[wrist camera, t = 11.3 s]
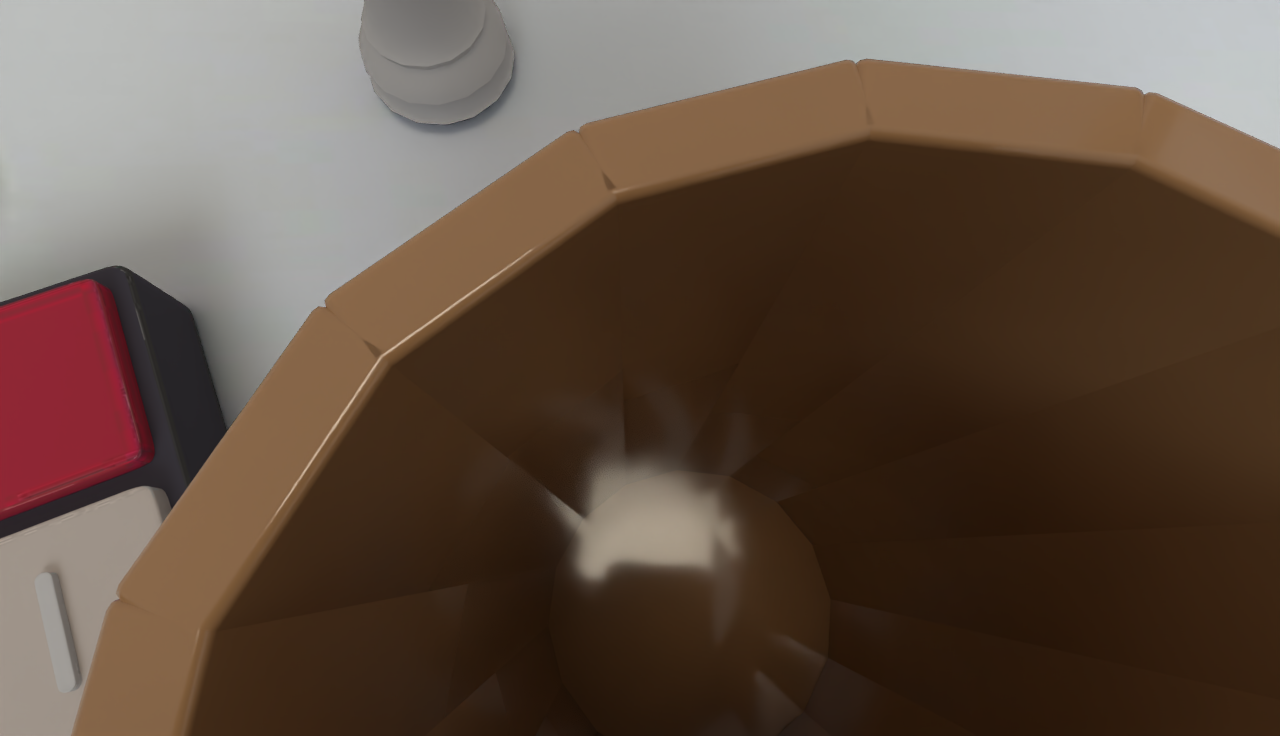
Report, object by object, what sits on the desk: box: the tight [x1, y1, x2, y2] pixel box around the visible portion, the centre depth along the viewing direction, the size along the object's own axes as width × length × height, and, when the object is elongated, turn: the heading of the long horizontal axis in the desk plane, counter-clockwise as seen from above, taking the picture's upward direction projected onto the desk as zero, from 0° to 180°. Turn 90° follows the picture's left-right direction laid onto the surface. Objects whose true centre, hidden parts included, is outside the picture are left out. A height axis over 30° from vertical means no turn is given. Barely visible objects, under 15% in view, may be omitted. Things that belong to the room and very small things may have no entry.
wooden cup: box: [71, 59, 1280, 736], centre depth 9 cm, size 6×6×13 cm
